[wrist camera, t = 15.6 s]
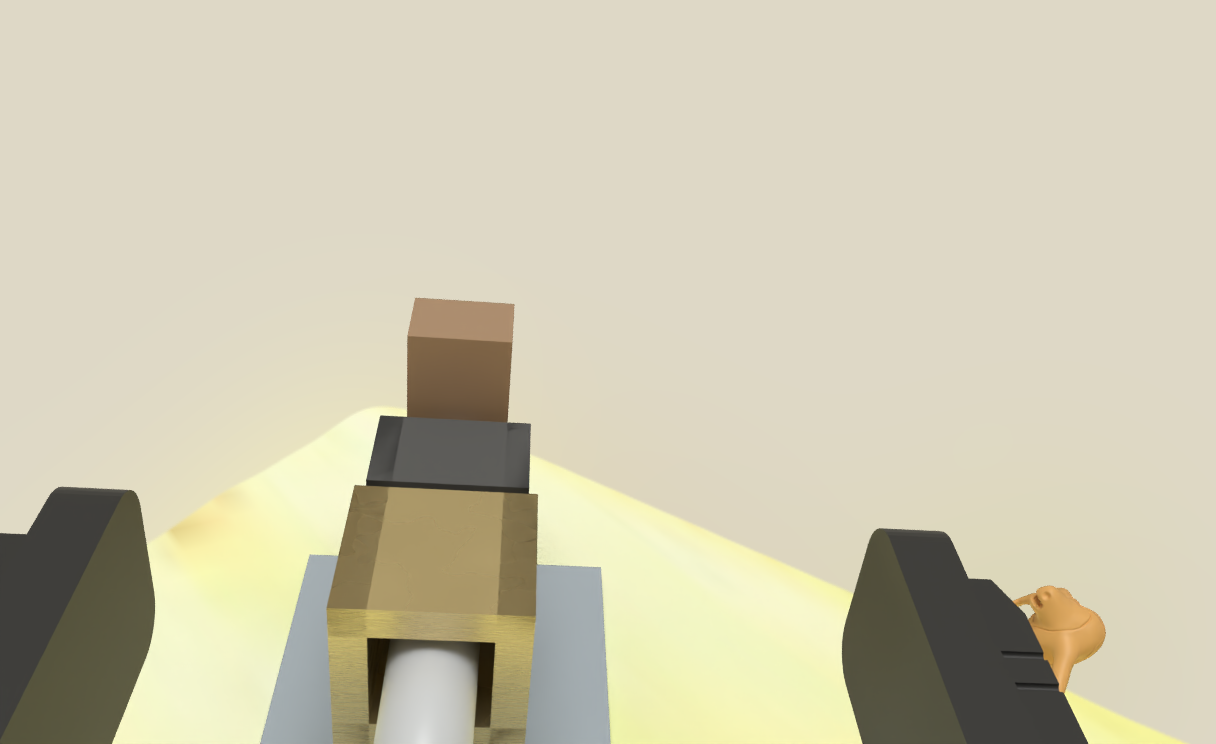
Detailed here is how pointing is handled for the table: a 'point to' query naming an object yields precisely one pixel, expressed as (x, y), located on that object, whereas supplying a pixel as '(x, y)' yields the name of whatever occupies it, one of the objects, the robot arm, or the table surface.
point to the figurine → (1063, 629)
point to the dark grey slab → (451, 455)
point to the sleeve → (434, 599)
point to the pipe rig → (448, 670)
